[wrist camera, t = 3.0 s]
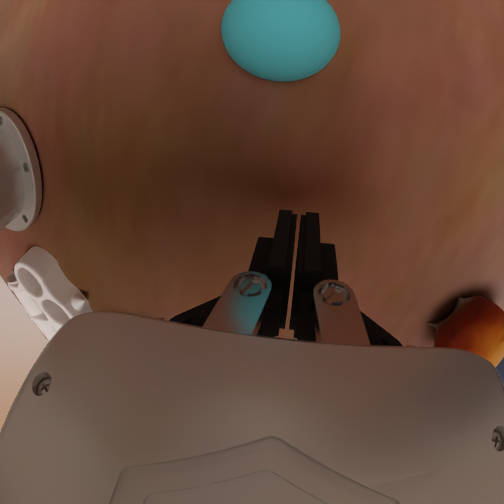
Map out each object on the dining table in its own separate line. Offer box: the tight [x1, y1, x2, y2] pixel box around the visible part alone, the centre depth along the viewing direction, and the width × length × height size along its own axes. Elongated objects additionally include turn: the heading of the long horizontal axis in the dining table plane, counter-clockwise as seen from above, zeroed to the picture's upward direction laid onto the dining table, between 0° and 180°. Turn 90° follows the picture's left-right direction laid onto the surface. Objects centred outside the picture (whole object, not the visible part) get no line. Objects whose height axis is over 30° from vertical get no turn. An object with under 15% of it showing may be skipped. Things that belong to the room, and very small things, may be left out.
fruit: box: [428, 295, 504, 367], centre depth 18 cm, size 8×8×8 cm
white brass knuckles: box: [7, 246, 93, 341], centre depth 27 cm, size 3×18×15 cm
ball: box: [221, 0, 340, 82], centre depth 9 cm, size 5×5×5 cm
